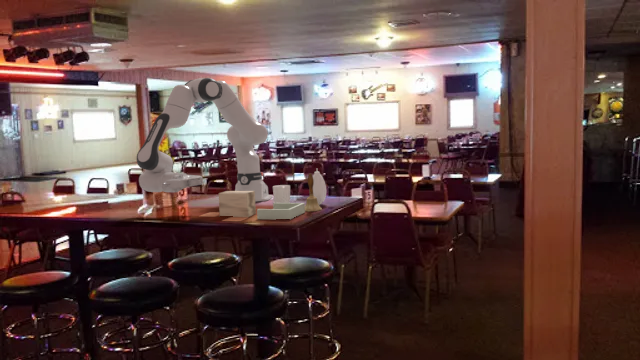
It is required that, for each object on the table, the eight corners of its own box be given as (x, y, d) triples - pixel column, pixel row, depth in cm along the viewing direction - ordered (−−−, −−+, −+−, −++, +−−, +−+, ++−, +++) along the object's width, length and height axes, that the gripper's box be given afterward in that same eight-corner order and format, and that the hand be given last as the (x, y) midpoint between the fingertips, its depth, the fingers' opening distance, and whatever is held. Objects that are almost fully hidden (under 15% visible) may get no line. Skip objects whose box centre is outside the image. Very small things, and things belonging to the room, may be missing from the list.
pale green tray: (274, 212, 239) (273, 202, 239) (304, 212, 235) (304, 203, 234) (257, 219, 222) (256, 209, 222) (289, 219, 218) (289, 209, 217)
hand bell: (309, 212, 235) (308, 174, 234) (299, 210, 242) (297, 173, 240) (325, 209, 240) (324, 173, 239) (314, 207, 247) (313, 172, 245)
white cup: (274, 209, 246) (273, 187, 245) (272, 207, 254) (271, 185, 253) (292, 208, 248) (291, 186, 247) (289, 206, 255) (288, 184, 254)
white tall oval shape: (325, 205, 251) (323, 166, 250) (308, 206, 253) (306, 166, 251) (328, 203, 259) (326, 165, 257) (311, 203, 261) (310, 165, 259)
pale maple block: (228, 213, 240) (227, 190, 239) (255, 214, 236) (254, 190, 235) (219, 216, 233) (218, 193, 232) (248, 217, 229) (246, 193, 228)
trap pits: (210, 212, 244) (210, 212, 244) (260, 213, 237) (260, 212, 237) (186, 220, 226) (186, 219, 226) (240, 221, 218) (240, 220, 218)
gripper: (159, 177, 232) (188, 177, 228) (185, 173, 251) (212, 173, 247) (160, 192, 232) (189, 192, 228) (186, 186, 252) (213, 187, 248)
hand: (201, 182), depth 238 cm, fingers closed
